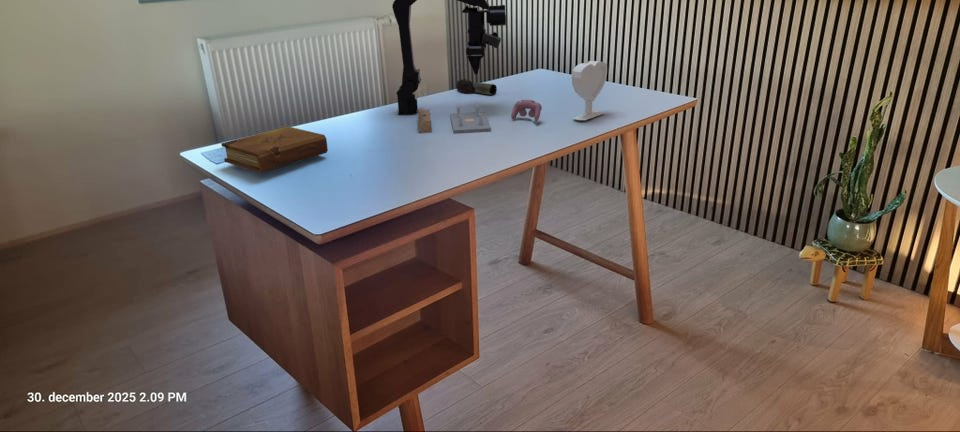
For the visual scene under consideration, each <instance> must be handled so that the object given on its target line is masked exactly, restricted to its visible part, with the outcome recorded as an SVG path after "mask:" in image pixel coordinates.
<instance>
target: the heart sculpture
mask: <svg viewBox="0 0 960 432" xmlns="http://www.w3.org/2000/svg"><path fill="white" fill-rule="evenodd" d="M571 72H572V74H571V83H572V87H573V90H574V93H576V94H577V96H578V97H580V98H581V99H583V100H584V101H585V104H584V105H585V107H584V113H582V114H580V115H577V116H574V117H572V119H574V120H576V121H587V120H589V119H594V118H595V117H598V116H601V115H604V114H605V113H604V112H601V111H598V110H597V111H595V110H594V111H593V103H594V101H595V100H596V98H597V97H598V96H599V94H601V91H602V89H603V88H604V86H605V83H606V81H607V75H608V65H607V63H606V62H604V61H599V60H598V61H596V60H588V61H587V62H586V63H585V62H583V63H582V62H581V63H578V64H577V65H576V66H575V67H573V69H572V71H571Z"/></svg>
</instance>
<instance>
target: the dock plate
mask: <svg viewBox="0 0 960 432" xmlns="http://www.w3.org/2000/svg"><path fill="white" fill-rule="evenodd" d="M479 113H482V123H483V125H479V117H476V111H475V112H460V114H462V121H463V126H459V118H458V117H457V112H455V113H453V112H452V113H450V114H449V117H450V122H451V127H452V131H453V134H466V133H467V134H468V133H484V132H487V133H488V132H491V131H492V129H491V125H490V123H489V120H488V118H487V115H486V113H485V111H479Z"/></svg>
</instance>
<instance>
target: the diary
mask: <svg viewBox="0 0 960 432" xmlns="http://www.w3.org/2000/svg"><path fill="white" fill-rule="evenodd" d="M327 141H328V140H327V137H326V136H325V134H323V133H318V132H314V131H309V130H305V129H301V128H297V127H293V126H289V125H287V126H283V127H280V128H276V129H272V130H267V131H264V132H259V133H256V134H253V135H248V136H245V137H241V138H237V139H234V140H233V139H232V140H229V141H225V142H221V147H222V148H225V153H226V154H225V155H226V157H225V158H224V159H223V161H224V163H228V164H231V165H233V166H236V167H240V168H243V169H246V170H250V171H252V172H255V173H259V174H263V173H265V172H269V171H272V170H275V169H278V168H281V167H284V166H288V165H292V164H295V163H298V162H300V161H305V160H308V159H311V158H314V157H317V156H321V155H323V154H326V153H328V151H329V150H328V142H327Z"/></svg>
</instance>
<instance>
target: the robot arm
mask: <svg viewBox="0 0 960 432" xmlns="http://www.w3.org/2000/svg"><path fill="white" fill-rule="evenodd" d="M417 1H418V0H393V2H392V11H393V15H394V18H395V20H396V23H397V26H398V32H399V33H398V34H399V41H400V42H399V43H400V50H401V58H402V67H403V68H402V76H401V77H402V78H401V85H400V86H399V87H398V89H397V91H396V96H397V97H396V98H397V110H398V111H397V113H398V115H400V116H401V115H402V116H403V115H416V114H418V110H419V108H418V98H417V97H416V94H415V92H417V90H418V89H419V86H420V84H421V82H422V78H421V68H417V67H416V65H415V59H414V48H413V43H412V32H411V15H412V5H413V4H415V3H416V2H417ZM456 1H458V2H461V3H463V4H466V5H465V7H464V8H463V9H462V11H461V12H462V14H467V47H466V49H465V55H466V58H467V59H468V61H469V64H470V66H471V69H472V71H473V73H474V74H473V75H479V69H480V68H481V67H480V66H481V61H482V59H483V57H485V55H486V50H487V45H488V46H491V47H493V48H494V49H499V47H500V43H501V41H502V38H501V37H500V36H499V33H498V32H495V31H493V32H492V33H487V32H486V31H487V30H486V29H485V28H486V27H485V17H486V23H487V24H489V26H490V27H491V26H492V27H493V26H494V27H495V26H497V27H498V26H503V27H505V26H507V14H506V5H505V4H499V5H490V4H489V2H488V1H487V0H456ZM469 6H470V7H469ZM471 6H472V7H471ZM478 7H479V8H480V9H478ZM485 15H486V16H485Z"/></svg>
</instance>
